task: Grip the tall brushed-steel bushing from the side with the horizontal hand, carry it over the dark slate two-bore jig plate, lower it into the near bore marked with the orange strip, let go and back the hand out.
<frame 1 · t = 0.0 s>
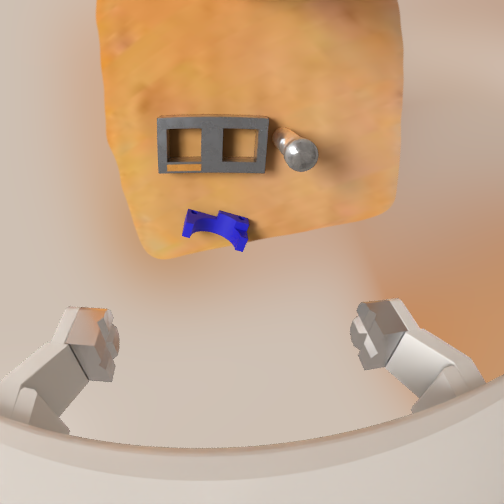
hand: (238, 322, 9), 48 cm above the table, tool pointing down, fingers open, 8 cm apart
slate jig: (212, 141, 52), on the table
steel bushing: (283, 138, 53), on the table
cable clip: (216, 219, 61), on the table
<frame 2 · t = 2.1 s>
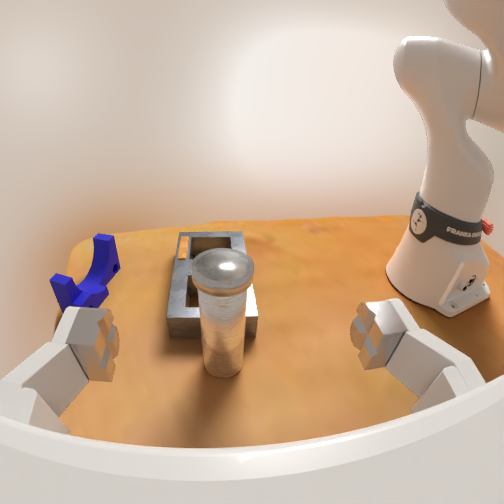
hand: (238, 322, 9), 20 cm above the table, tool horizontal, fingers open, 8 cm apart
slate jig: (211, 286, 42), on the table
steel bushing: (223, 362, 31), on the table
cable clip: (97, 292, 39), on the table
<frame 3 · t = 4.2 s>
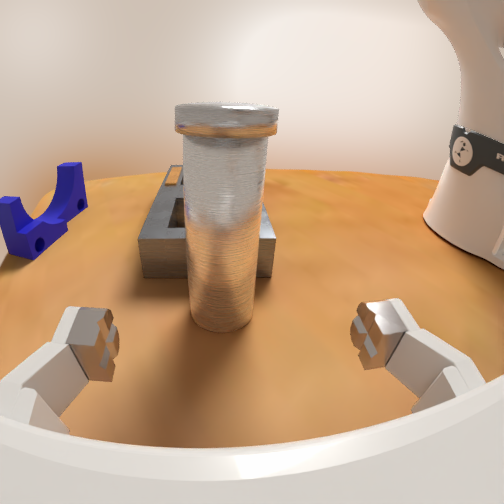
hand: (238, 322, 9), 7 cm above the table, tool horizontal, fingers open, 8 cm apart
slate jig: (208, 222, 31), on the table
steel bushing: (221, 310, 20), on the table
cable clip: (55, 231, 28), on the table
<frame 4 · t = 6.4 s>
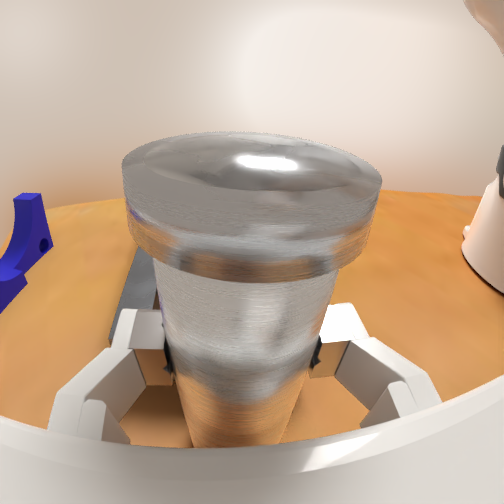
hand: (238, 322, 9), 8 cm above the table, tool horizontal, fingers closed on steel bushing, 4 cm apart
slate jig: (209, 278, 23), on the table
steel bushing: (235, 437, 13), on the table, touching gripper
cable clip: (14, 282, 21), on the table
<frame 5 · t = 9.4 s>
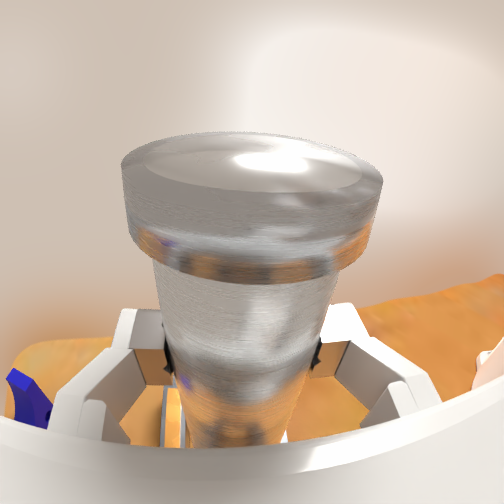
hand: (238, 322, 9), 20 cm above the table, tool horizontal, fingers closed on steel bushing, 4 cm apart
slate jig: (226, 481, 19), on the table
steel bushing: (235, 438, 13), point 12 cm above the table, touching gripper
cable clip: (31, 453, 17), on the table
when the fingers open (9 cm above the table, at t = 12.6 s): steel bushing drops 1 cm, resting in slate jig.
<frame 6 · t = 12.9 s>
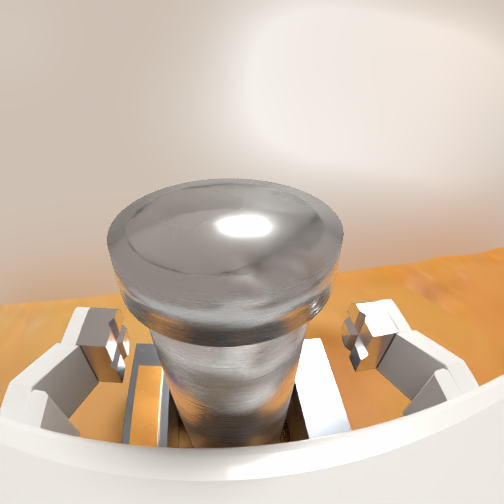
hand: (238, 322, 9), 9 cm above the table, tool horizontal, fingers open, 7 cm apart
steel bushing: (236, 446, 13), resting in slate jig
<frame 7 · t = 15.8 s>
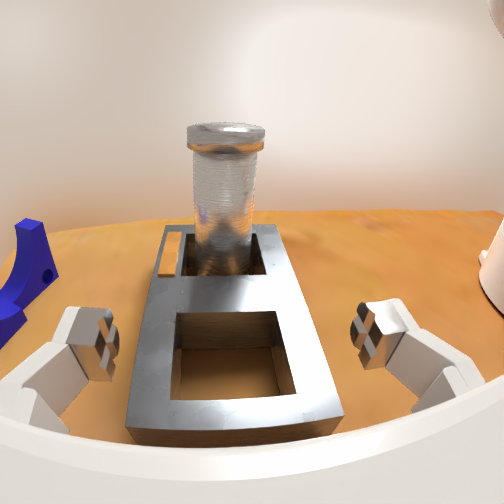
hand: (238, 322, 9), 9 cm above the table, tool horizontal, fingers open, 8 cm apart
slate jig: (224, 329, 21), on the table
steel bushing: (222, 287, 25), resting in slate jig
cable clip: (15, 314, 20), on the table
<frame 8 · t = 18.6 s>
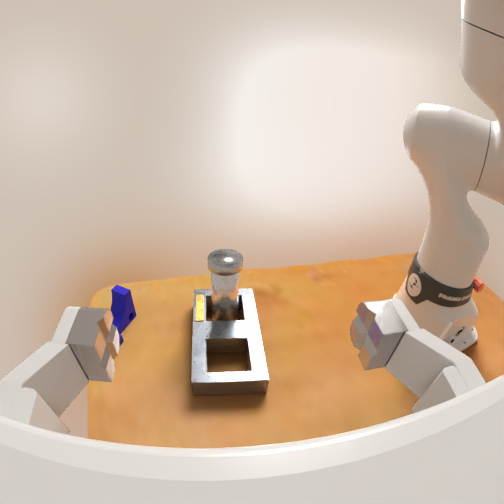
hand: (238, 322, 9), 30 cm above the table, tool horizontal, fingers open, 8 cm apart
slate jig: (226, 344, 46), on the table
steel bushing: (224, 322, 50), resting in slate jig
cable clip: (113, 337, 45), on the table
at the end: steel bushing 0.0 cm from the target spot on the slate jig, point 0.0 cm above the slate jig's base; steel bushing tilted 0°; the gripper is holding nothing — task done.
